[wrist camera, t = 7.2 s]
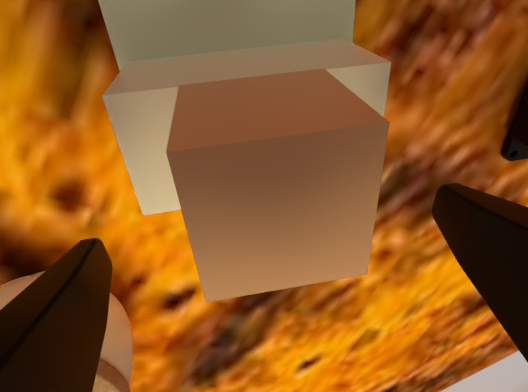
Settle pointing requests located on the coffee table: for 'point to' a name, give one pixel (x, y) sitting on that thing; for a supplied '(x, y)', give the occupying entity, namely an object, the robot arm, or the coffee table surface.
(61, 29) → the coffee table surface
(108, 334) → the lidded jar
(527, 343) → the robot arm
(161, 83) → the bottom brick
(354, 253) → the top brick
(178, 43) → the baseplate
